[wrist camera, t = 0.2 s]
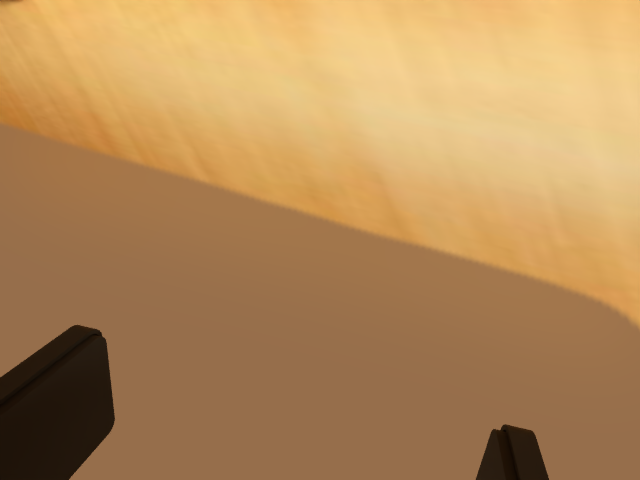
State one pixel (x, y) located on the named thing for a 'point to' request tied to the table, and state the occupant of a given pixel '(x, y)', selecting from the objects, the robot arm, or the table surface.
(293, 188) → the table surface
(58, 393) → the robot arm
